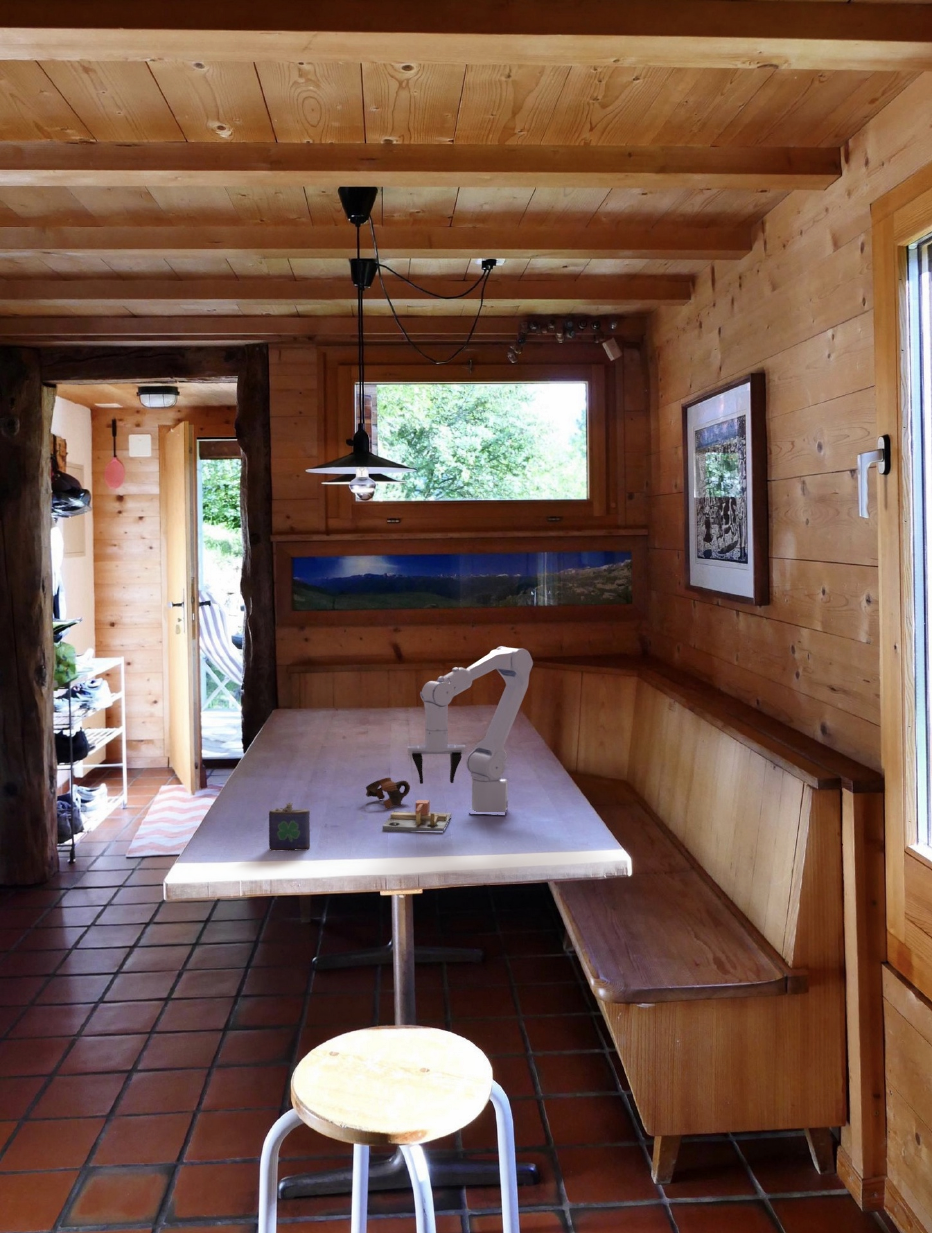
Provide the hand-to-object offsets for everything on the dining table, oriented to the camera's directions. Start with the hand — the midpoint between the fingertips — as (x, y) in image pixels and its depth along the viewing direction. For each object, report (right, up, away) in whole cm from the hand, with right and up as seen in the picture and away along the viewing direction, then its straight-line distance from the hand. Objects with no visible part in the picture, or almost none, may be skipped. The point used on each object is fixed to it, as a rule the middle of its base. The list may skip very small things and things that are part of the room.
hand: (436, 782), depth 239 cm
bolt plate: (-5, -10, -2) cm, 11 cm away
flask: (-33, -11, -23) cm, 42 cm away
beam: (-5, -9, -4) cm, 11 cm away
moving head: (-4, -9, -4) cm, 10 cm away
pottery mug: (-14, -9, +18) cm, 24 cm away
